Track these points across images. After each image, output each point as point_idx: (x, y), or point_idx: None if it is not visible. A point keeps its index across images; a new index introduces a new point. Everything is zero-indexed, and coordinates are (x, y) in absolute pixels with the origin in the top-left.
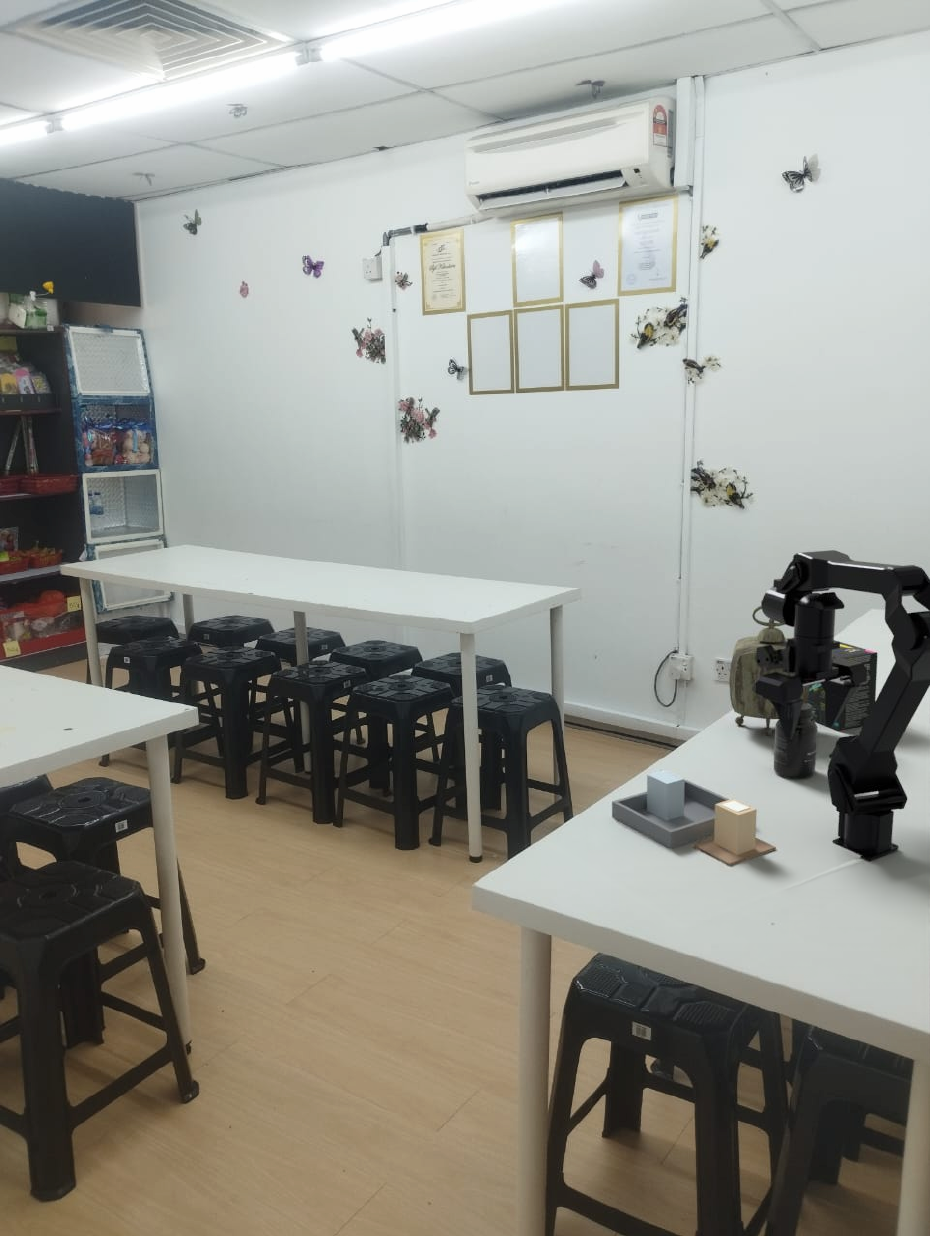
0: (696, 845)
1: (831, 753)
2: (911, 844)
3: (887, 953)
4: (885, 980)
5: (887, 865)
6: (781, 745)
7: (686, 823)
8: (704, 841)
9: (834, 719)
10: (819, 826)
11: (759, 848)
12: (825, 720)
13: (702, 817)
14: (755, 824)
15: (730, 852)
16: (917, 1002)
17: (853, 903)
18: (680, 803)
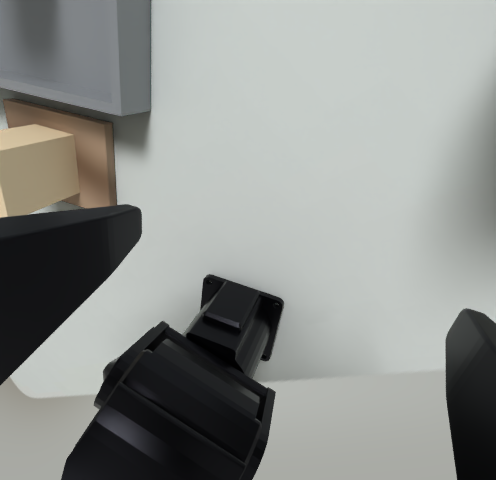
0: (6, 104)
1: (108, 401)
2: (306, 368)
3: (65, 374)
4: (39, 377)
5: None
6: None
7: (40, 5)
8: (24, 105)
9: (447, 395)
10: (261, 228)
11: (85, 197)
12: (474, 323)
13: (86, 8)
14: (38, 209)
15: None
16: (40, 396)
17: (102, 336)
18: None
